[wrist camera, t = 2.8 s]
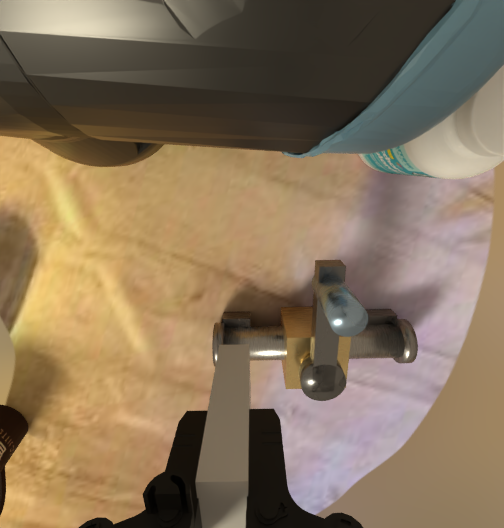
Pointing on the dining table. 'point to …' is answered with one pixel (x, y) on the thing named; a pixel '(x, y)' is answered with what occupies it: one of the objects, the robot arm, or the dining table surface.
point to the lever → (329, 330)
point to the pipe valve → (299, 339)
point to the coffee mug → (9, 441)
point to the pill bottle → (454, 140)
